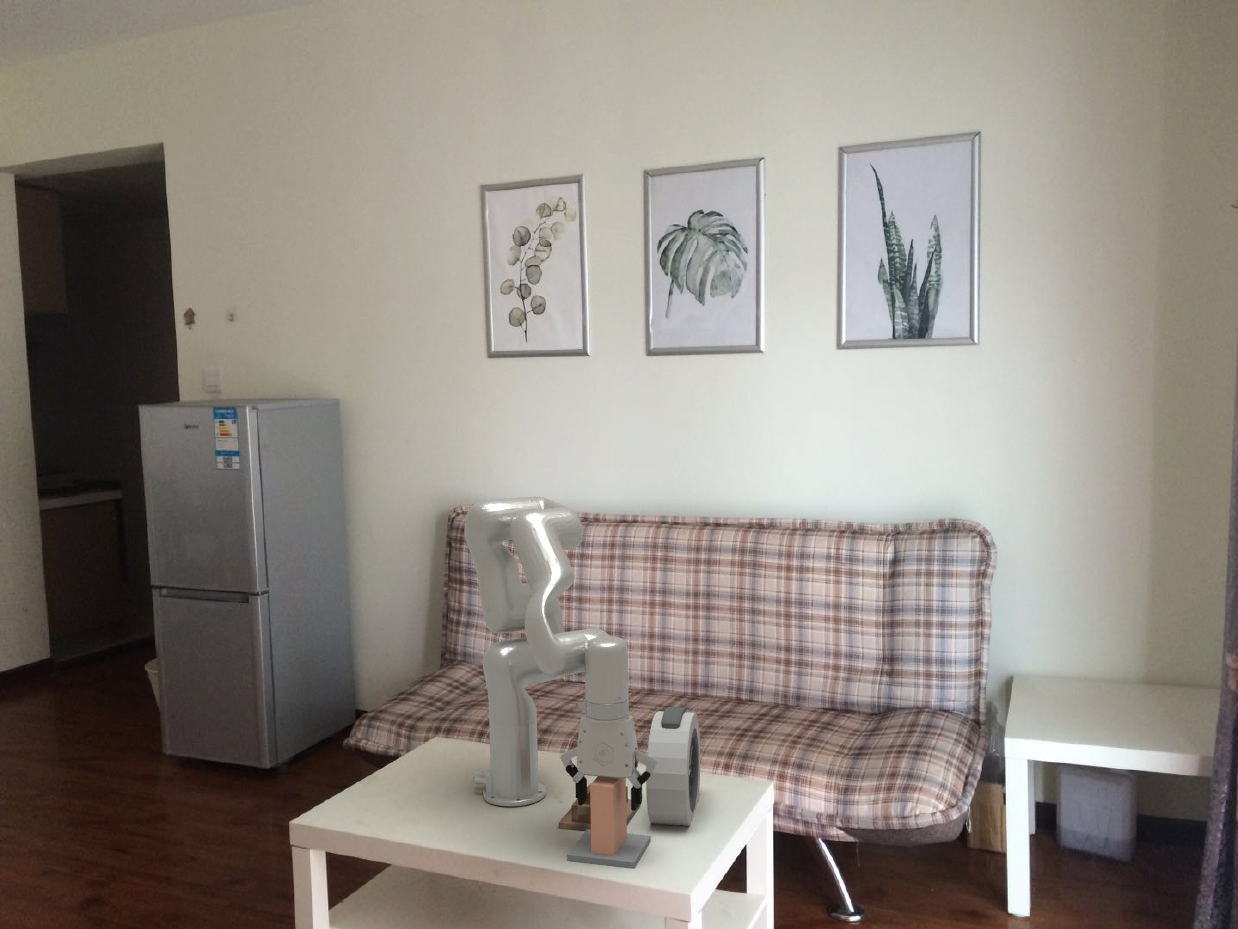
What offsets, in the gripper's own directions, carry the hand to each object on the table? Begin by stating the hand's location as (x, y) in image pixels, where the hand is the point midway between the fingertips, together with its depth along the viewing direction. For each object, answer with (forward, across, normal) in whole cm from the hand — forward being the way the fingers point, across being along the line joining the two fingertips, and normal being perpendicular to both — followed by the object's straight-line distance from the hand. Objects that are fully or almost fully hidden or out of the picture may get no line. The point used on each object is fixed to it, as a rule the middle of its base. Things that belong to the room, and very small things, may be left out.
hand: (608, 805), depth 174 cm
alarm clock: (+8, +7, +20) cm, 23 cm away
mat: (+8, 0, 0) cm, 8 cm away
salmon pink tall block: (+7, 0, 0) cm, 7 cm away
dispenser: (+8, -6, +14) cm, 17 cm away
